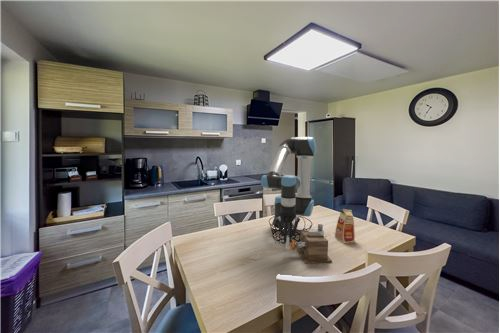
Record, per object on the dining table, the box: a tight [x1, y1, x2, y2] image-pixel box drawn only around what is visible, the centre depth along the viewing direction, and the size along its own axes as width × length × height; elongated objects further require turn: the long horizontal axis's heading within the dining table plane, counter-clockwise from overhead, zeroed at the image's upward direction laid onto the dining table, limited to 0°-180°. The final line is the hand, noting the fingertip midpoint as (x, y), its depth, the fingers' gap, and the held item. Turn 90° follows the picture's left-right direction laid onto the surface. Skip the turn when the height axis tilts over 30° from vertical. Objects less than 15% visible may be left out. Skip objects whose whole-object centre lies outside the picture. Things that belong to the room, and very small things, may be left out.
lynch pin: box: [289, 239, 305, 251], centre depth 116 cm, size 5×16×5 cm, turn 94°
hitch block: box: [295, 229, 333, 265], centre depth 116 cm, size 16×14×11 cm
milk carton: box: [334, 208, 356, 244], centre depth 136 cm, size 9×9×20 cm
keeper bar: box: [306, 223, 325, 237], centre depth 116 cm, size 3×8×6 cm, turn 94°
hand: (287, 248), depth 116 cm, fingers closed
